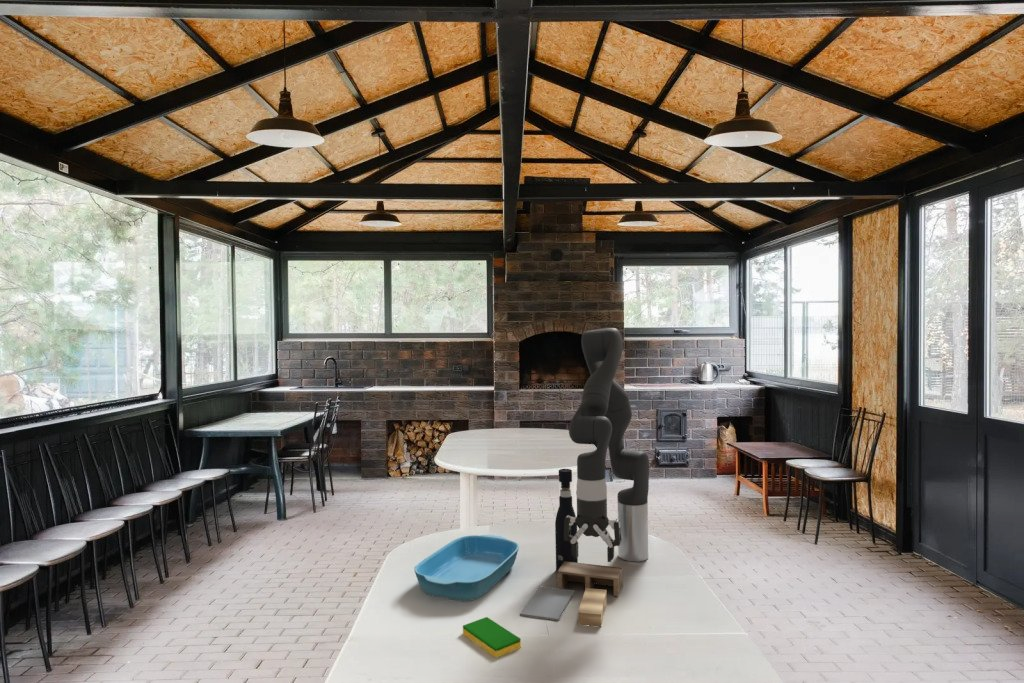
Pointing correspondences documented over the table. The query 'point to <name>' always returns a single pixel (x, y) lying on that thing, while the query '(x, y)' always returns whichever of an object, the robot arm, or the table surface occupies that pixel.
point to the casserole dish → (466, 566)
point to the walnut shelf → (590, 575)
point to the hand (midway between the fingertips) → (592, 559)
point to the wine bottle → (564, 509)
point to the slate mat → (547, 603)
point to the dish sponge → (491, 637)
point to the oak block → (592, 607)
